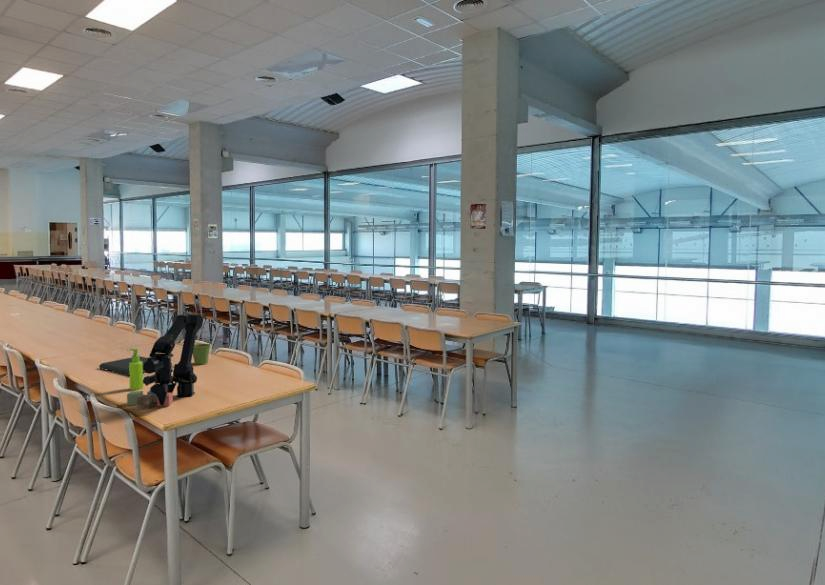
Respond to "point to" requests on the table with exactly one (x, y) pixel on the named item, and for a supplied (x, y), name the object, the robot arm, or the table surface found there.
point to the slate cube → (153, 396)
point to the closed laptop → (121, 365)
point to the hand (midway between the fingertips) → (165, 402)
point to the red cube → (166, 400)
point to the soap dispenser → (136, 371)
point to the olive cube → (133, 397)
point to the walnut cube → (144, 401)
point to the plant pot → (201, 353)
